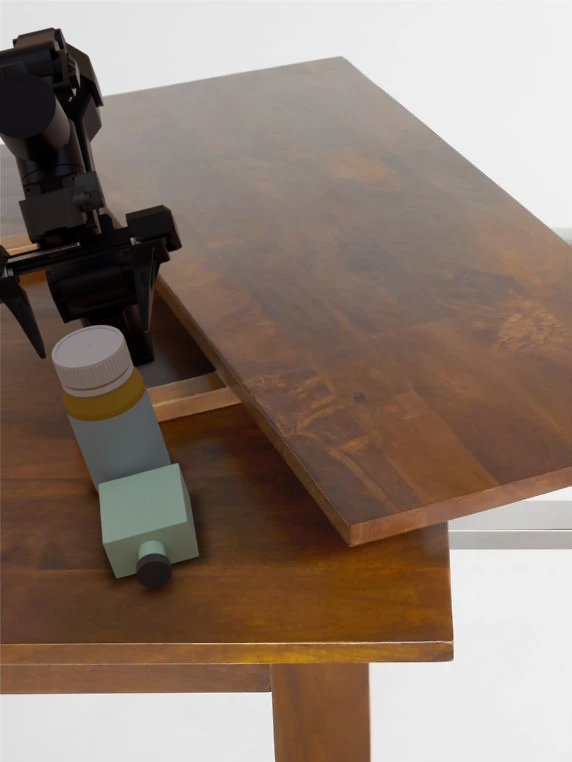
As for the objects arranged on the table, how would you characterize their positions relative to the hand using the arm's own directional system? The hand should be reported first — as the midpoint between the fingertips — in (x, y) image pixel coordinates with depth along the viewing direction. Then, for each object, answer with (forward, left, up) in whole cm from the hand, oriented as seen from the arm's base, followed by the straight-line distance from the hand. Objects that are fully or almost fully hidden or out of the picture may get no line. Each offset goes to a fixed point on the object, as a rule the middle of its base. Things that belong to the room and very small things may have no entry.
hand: (95, 344), depth 120 cm
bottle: (+5, 0, -12) cm, 13 cm away
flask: (+14, +1, -12) cm, 19 cm away
